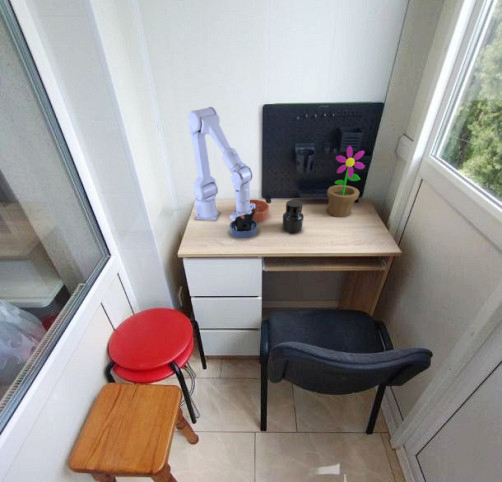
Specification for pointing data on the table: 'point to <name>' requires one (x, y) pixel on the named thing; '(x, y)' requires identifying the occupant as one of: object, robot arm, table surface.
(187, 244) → the table surface
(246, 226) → the ring
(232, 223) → the blue round dish
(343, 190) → the flowerpot
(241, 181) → the robot arm
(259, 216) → the bowl
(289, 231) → the ink bottle
